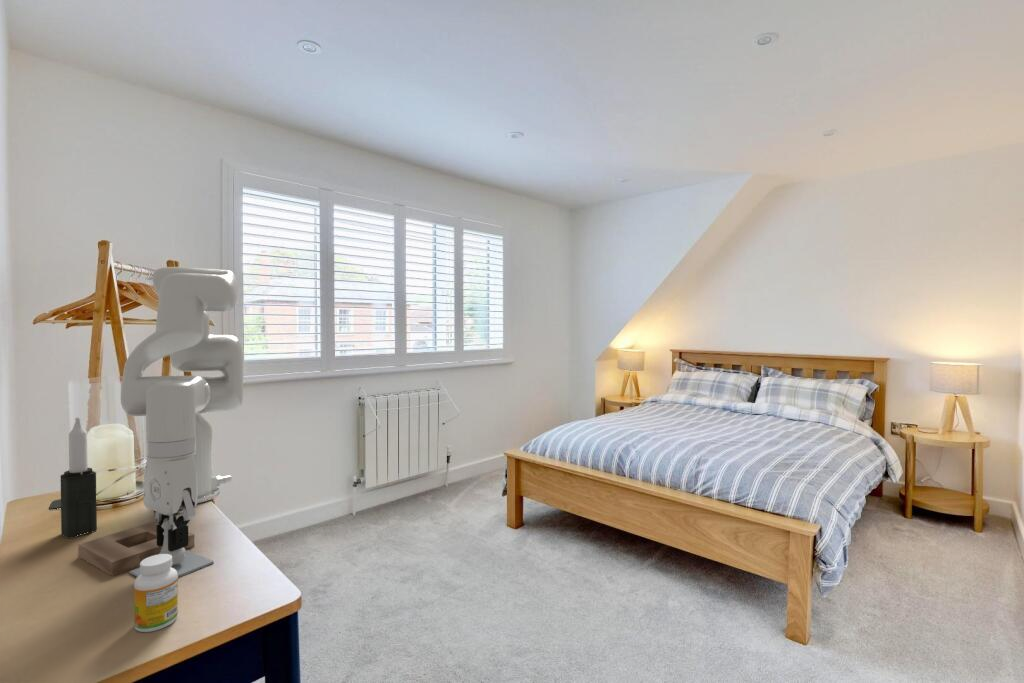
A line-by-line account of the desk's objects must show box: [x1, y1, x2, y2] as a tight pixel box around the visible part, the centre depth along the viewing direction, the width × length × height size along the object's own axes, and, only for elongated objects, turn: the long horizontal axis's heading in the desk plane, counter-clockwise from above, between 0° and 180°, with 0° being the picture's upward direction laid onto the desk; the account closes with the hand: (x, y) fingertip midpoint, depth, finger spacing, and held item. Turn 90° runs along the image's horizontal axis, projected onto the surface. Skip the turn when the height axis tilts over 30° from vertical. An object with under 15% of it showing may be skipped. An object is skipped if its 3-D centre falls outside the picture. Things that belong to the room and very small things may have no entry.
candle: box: [59, 417, 98, 539], centre depth 107 cm, size 5×5×25 cm
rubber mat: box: [128, 549, 215, 578], centre depth 92 cm, size 10×9×1 cm
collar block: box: [77, 521, 195, 577], centre depth 99 cm, size 14×14×2 cm
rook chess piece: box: [159, 515, 187, 565], centre depth 92 cm, size 4×4×8 cm
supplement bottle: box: [133, 554, 179, 633], centre depth 75 cm, size 5×5×10 cm
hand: (172, 545), depth 92 cm, fingers closed on rook chess piece, 3 cm apart
